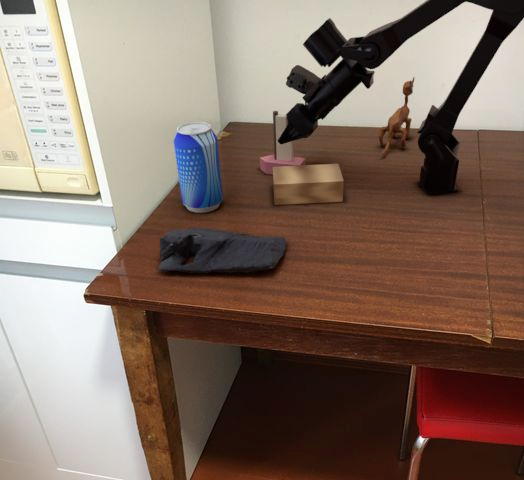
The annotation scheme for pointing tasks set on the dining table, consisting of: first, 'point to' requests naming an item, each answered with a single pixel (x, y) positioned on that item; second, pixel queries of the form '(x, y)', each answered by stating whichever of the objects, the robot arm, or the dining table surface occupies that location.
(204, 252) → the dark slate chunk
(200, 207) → the beer can
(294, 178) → the wood block
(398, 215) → the dining table surface
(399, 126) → the brown animal figurine
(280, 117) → the toy boat
